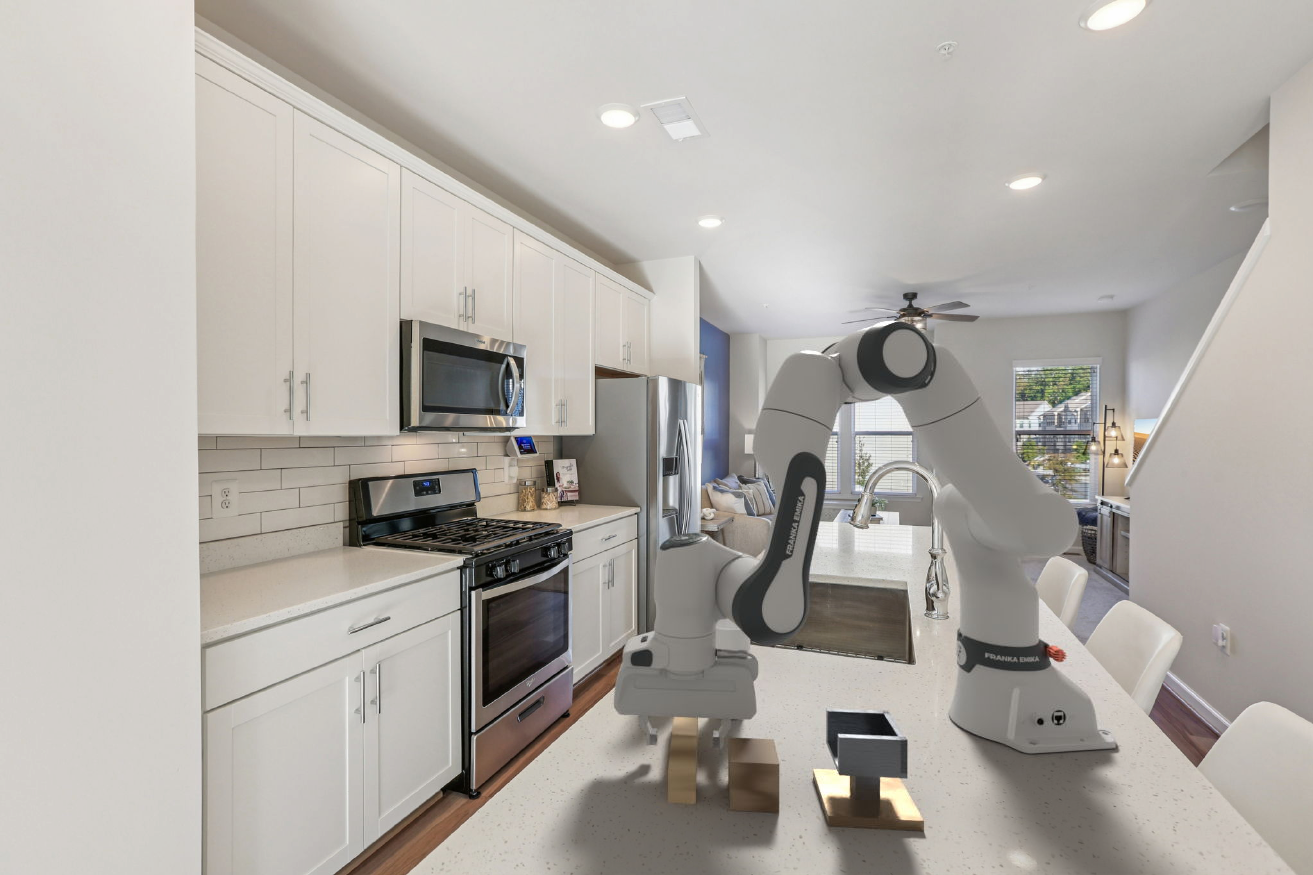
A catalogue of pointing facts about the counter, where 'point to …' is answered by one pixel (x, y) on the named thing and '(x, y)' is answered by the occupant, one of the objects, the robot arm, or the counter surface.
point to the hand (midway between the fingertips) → (684, 744)
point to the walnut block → (753, 775)
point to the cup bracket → (866, 772)
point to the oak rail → (683, 761)
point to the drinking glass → (731, 636)
